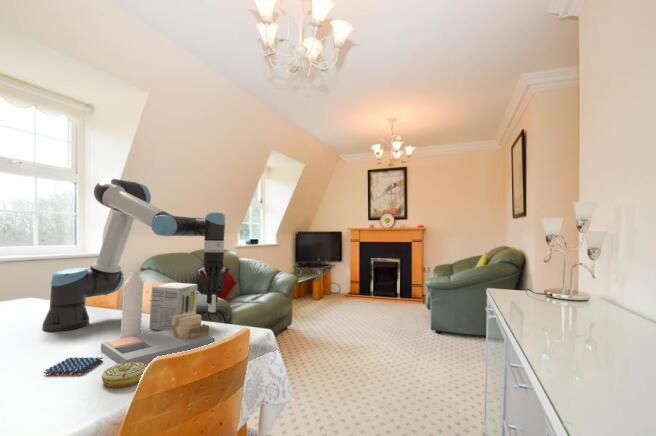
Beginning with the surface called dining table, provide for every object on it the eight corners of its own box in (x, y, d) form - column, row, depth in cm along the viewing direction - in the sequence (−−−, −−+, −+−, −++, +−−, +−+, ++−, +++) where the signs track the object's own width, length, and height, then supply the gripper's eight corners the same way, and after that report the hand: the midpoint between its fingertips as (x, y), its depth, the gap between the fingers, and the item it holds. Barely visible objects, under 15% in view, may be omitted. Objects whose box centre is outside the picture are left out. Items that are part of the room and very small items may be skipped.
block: (171, 335, 119) (172, 316, 120) (192, 331, 125) (193, 312, 126) (179, 339, 116) (180, 319, 116) (200, 334, 122) (201, 315, 122)
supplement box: (176, 332, 132) (179, 288, 133) (148, 329, 135) (151, 286, 136) (196, 323, 145) (198, 283, 146) (170, 321, 148) (172, 282, 149)
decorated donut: (127, 370, 95) (128, 357, 95) (156, 376, 92) (157, 362, 92) (91, 385, 85) (92, 370, 85) (122, 393, 82) (123, 377, 82)
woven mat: (67, 363, 100) (68, 356, 100) (104, 363, 101) (104, 356, 101) (40, 378, 89) (41, 370, 89) (81, 377, 90) (81, 370, 90)
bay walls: (174, 332, 123) (174, 323, 123) (191, 328, 129) (192, 319, 129) (190, 339, 116) (191, 329, 116) (208, 335, 121) (209, 325, 121)
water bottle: (119, 341, 119) (123, 272, 121) (121, 335, 125) (125, 270, 126) (146, 338, 123) (150, 271, 125) (147, 333, 129) (150, 269, 130)
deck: (100, 350, 109) (101, 342, 109) (184, 332, 132) (184, 325, 132) (125, 368, 96) (126, 359, 96) (214, 344, 118) (214, 337, 119)
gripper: (204, 252, 122) (201, 316, 121) (233, 251, 132) (231, 310, 131) (193, 251, 127) (191, 312, 126) (222, 250, 137) (220, 307, 136)
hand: (211, 311), depth 128 cm, fingers closed
